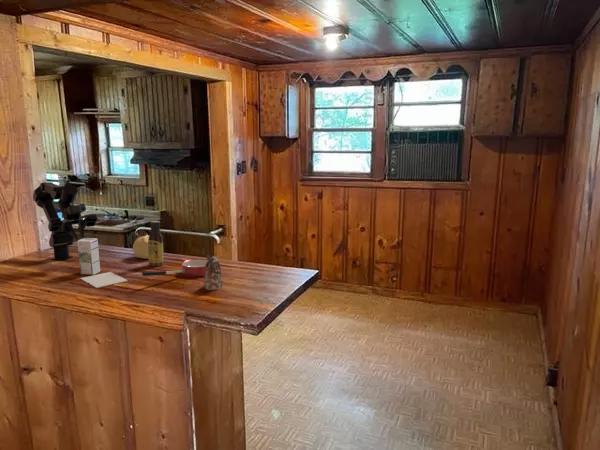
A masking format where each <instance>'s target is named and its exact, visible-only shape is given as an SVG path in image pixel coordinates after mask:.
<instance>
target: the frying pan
mask: <svg viewBox="0 0 600 450" xmlns="http://www.w3.org/2000/svg"><path fill="white" fill-rule="evenodd" d="M207 261H208V259H207V258H193V259H187V260H185V261H182V262H181V270H179V269H178V270H155V271H154V270H152V271H142V272H141V275H142V276H143V277H147V276H148V277H150V276H152V277H153V276H163V275H168V274H169V275H170V274H171V275H172V274H182V275H183V276H186V277H189V278H190V277H191V278H200V277H201V278H202V277H205V272H206V270H207V268H206V262H207ZM209 266H210V264H209Z"/></svg>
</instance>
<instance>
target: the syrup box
mask: <svg viewBox="0 0 600 450" xmlns="http://www.w3.org/2000/svg"><path fill="white" fill-rule="evenodd" d="M77 250H78V261H79V270H80V271H79V272H80V275H85V276H86V275H87V276H93V275H97V274H99V273H100V272H101V263H100V254H99V250H100V249H99V241H98V238H96V237H95V238H93V237H92V238H91V237H88V238H87V237H84V238H81V239H79V240H77Z"/></svg>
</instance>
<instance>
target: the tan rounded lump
mask: <svg viewBox="0 0 600 450" xmlns="http://www.w3.org/2000/svg"><path fill="white" fill-rule="evenodd" d="M149 236H150V234H149V235H148V234H146V235H142V236H140V237H138V238H136V239H135V240H134V242H133V245H132V252H133V255H134V256H135V257H136V258H139V259H147V260H149V257H148V239H149Z"/></svg>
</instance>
